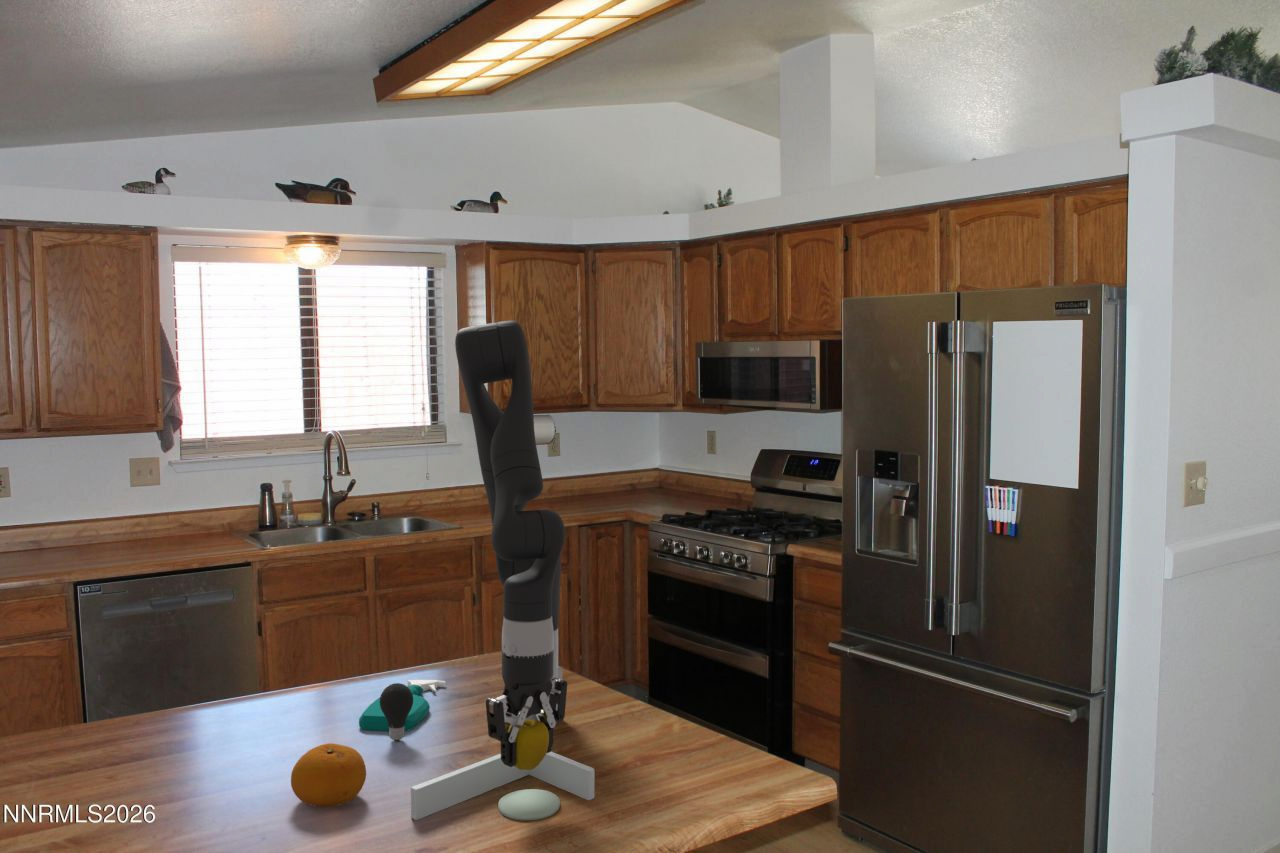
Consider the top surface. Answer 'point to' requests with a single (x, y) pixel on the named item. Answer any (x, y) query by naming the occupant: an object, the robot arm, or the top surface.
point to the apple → (531, 744)
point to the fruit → (328, 775)
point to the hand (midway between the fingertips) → (527, 757)
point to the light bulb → (396, 708)
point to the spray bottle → (378, 722)
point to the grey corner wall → (498, 782)
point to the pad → (529, 804)
